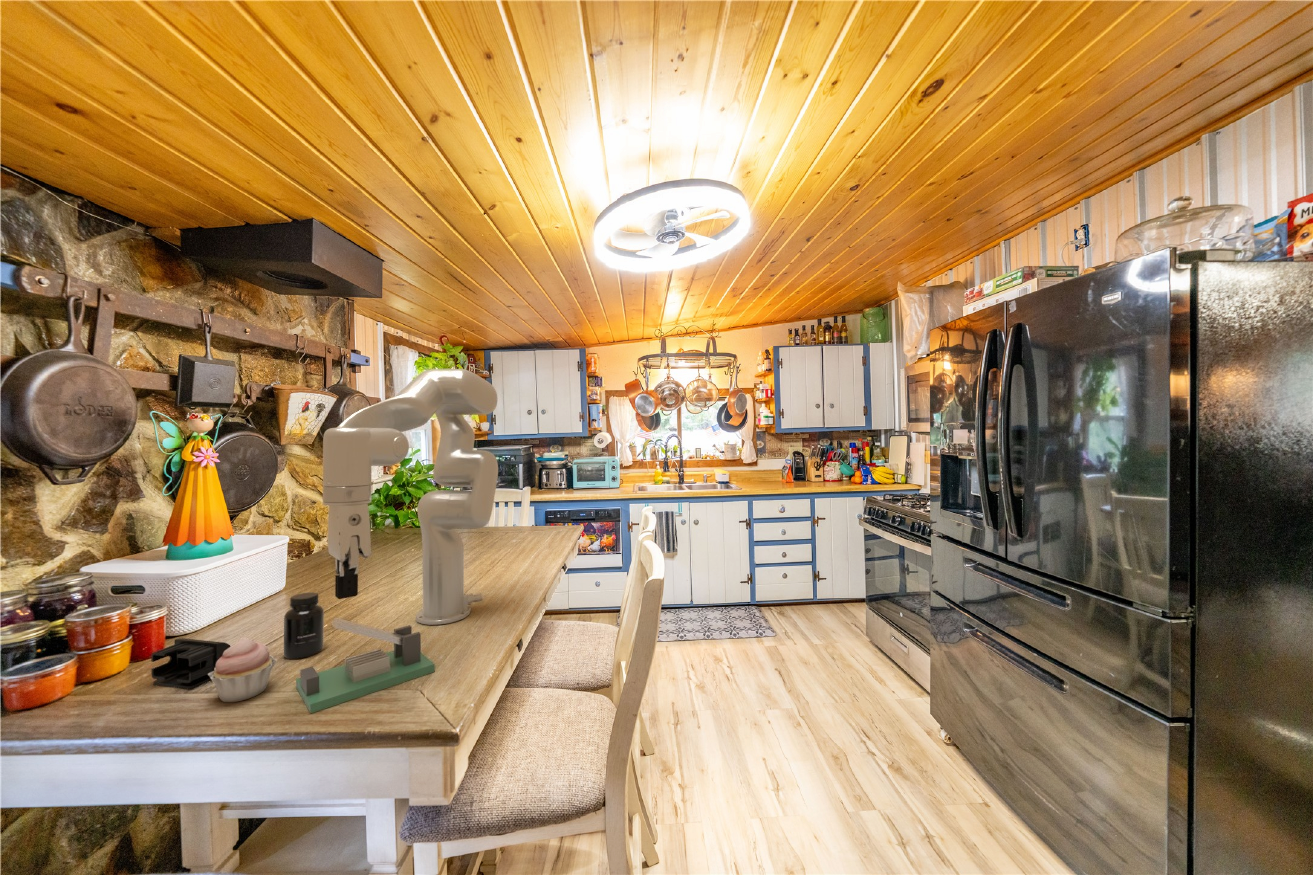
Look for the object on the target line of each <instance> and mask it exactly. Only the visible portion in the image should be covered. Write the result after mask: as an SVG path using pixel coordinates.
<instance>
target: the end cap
mask: <svg viewBox="0 0 1313 875" xmlns="http://www.w3.org/2000/svg"><path fill="white" fill-rule="evenodd" d="M231 646H232V645H230V644H229V643H227V642H223V641H212V640H211V641H210V640H203V639H194V638H184V637H183V638H182V637H181V638H177V639H174V644H173V645H169V646H167V647H164V648H162V649H159V650H157V651H154V652H152V653H151V655H150V656H151V662H152V663H154V662H157V661H160V660H163V659H164V658H168V657H169V660H168V661H167V662H166V663H162V664H160V665H158V666H155V667H153V668H151V670H150V673H151V678H152V679H154V681H153V682H152V683H153V686H156V685H157V686H159V687H166V688H173V689H180V690H181V689H182V690H188V691H189V690H194V689H196V688H199V687H201V686H203V685H205V684H207V683H210V682H211V681H212V680H211V678H210V677H209V675H208V674H209V673H211V672H213V671H215V670H214V668H216V662H217V661H218V660H219V659H220V658H221V657H222V656H223V652H224V651H225V650H227V649H228V648H230V647H231ZM212 682H213V681H212Z"/></svg>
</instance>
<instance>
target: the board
mask: <svg viewBox="0 0 1313 875" xmlns="http://www.w3.org/2000/svg"><path fill="white" fill-rule="evenodd" d="M412 630H413V628H412V625H405V626H401V627H398V628H394V629H393V633H396V634H400V635H405V636H402V645H399V644H395V643H393V650H391V651H388V652H384V650H382V648H378V649H374V650H372V651H368V652H363V653H361V654H357V655H354V656H350V657H346V658H345V659H344V660H345V662H344V664H342V665H340V666H335V667H333V668H329V669H325V670H322V671H318V672H317V671H316V669H315V668H314V666H312V665H311V666H309V667H305V668H302V669H300V677H297V678H295V688H296V690H297V691H298V693H299V695H300V697H301V699H302V700H303V704H305V706H306V708H307V710H308V712H309V714H313V713H316V712H320V711H322V710H326V709H328V708H331V707H334V706H337V705H340V704H343V703H346V702H349V701H352V700H355V699H358V698H361V697H364V696H367V695H370V694H373V693H376V692H379V691H382V690H385V689H387V688H390V687H394V686H397V685H399V684H402V683H405V682H409V681H412V680H415V679H416V678H417V679H418V678H420V677H423V676H426V675H429V674H432V673H435V672H436V664H435V663H434V662H433V661H432V660H431V659H430V658H428V657H427V656H426V655H425V654H423V653H422V652H421V648H422V647H421V643H422V642H421V637H422V636H421V634H422V633H421V632H420V631H417V632H412Z"/></svg>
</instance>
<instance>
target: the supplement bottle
mask: <svg viewBox="0 0 1313 875" xmlns="http://www.w3.org/2000/svg"><path fill="white" fill-rule="evenodd" d="M289 602H290V604H289V607H290V609H288V610H287V611H286V612H285V614H284V617H283V656H284V657H285V658H287V659H290V660H298V659H304V658H309V657H311V656H314V655H316V654H318V653H320V652H321V651H322V650H323V648H324V630H325V629H324V628H325V627H324V620H325V618H324V617H325V616H324V613H325V612H324V611H325V610H324V608H323V606H322V605H319V593H318V592H313V591H312V592H303V593H298V594H294V595H292V596H291V597H290V601H289Z"/></svg>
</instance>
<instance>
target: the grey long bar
mask: <svg viewBox="0 0 1313 875" xmlns="http://www.w3.org/2000/svg"><path fill="white" fill-rule="evenodd" d="M331 625H332V626H333V628H334V629H336V630H341V631H344V632H349V633H352V634H356V635H360V636H363V637H367V638H372V639H376V640H379V641H383V642H384V641H385V642H388V643H392V644H394V643H395V644H399V645H402V636H405V635H400V634H396V633H394V632H393V631H392V632H391V631H388V630H385V629H380V628H377V627H373V626H369V625H366V624H362V623H358V622H355V621H351V620H350V621H349V620H346V619H343V618H339V617H336V616H335V617H334V619H333V620H332V622H331Z"/></svg>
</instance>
